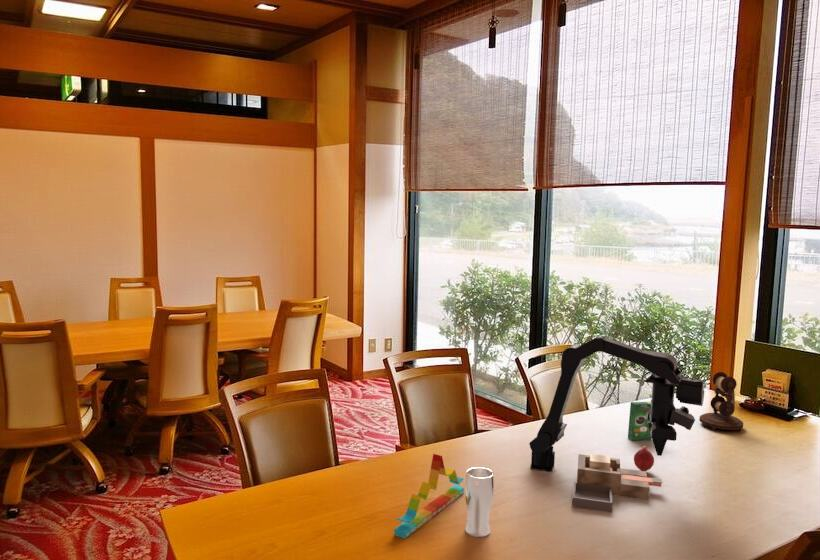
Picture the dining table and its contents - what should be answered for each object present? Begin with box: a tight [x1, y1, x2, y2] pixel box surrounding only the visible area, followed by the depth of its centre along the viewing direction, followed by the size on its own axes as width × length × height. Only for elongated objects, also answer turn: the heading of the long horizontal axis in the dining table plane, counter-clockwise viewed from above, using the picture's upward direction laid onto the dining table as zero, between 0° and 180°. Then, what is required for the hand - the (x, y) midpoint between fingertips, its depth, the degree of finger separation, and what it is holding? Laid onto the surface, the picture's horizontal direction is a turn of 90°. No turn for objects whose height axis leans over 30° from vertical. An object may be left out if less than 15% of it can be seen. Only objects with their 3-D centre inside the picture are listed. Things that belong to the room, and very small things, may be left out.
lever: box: [610, 467, 663, 488], centre depth 186 cm, size 20×7×2 cm, turn 74°
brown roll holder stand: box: [698, 371, 744, 432], centre depth 241 cm, size 15×15×20 cm
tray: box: [571, 481, 614, 513], centre depth 177 cm, size 10×10×3 cm
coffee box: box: [627, 401, 652, 441], centre depth 226 cm, size 8×3×13 cm, turn 103°
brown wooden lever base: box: [576, 453, 650, 501], centre depth 187 cm, size 19×12×6 cm, turn 74°
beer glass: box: [464, 466, 495, 538], centre depth 159 cm, size 7×7×15 cm
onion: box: [633, 445, 655, 472], centre depth 198 cm, size 6×6×8 cm
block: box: [589, 453, 611, 471], centre depth 187 cm, size 6×6×4 cm
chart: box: [394, 453, 465, 539], centre depth 168 cm, size 30×3×15 cm, turn 148°
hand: (658, 453), depth 183 cm, fingers open, 3 cm apart
